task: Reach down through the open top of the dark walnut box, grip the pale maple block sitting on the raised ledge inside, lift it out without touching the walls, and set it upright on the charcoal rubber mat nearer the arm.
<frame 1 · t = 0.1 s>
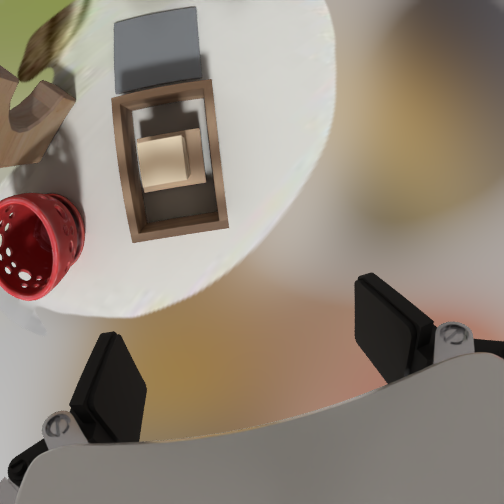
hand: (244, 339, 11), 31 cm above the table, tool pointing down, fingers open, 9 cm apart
decorative block: (47, 123, 32), on the table
maple block: (170, 160, 34), point 3 cm above the table, touching walnut box
walnut box: (173, 159, 37), on the table
mat: (155, 48, 31), on the table
plant pot: (57, 226, 37), on the table
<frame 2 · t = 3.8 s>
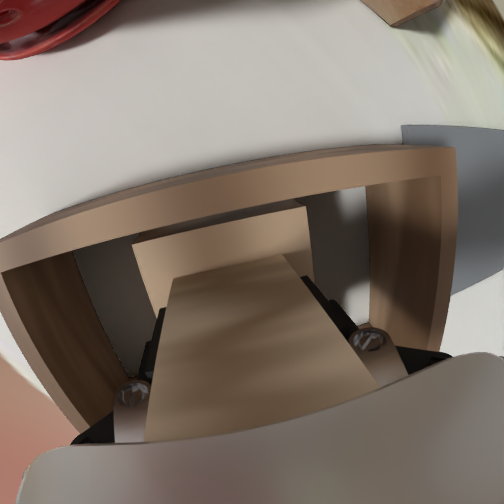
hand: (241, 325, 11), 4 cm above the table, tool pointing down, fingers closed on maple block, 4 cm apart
maple block: (238, 313, 12), point 3 cm above the table, touching gripper, walnut box
walnut box: (232, 284, 15), on the table
mat: (467, 211, 16), on the table
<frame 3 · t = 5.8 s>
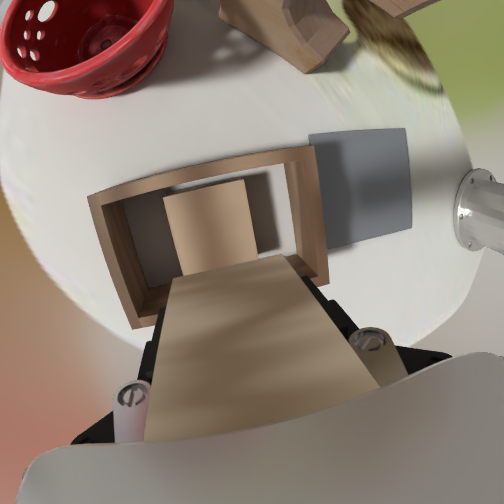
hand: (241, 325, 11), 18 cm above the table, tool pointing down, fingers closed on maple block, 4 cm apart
decorative block: (276, 29, 23), on the table
maple block: (238, 313, 12), point 17 cm above the table, touching gripper
walnut box: (211, 225, 28), on the table
mat: (366, 184, 29), on the table
plant pot: (116, 49, 21), on the table
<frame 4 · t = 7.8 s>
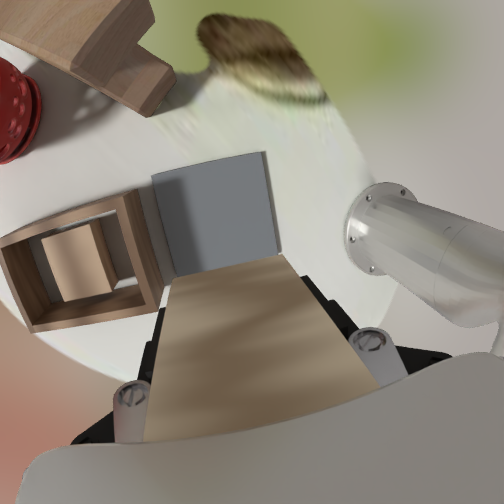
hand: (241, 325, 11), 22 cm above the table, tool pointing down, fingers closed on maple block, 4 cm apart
decorative block: (126, 78, 26), on the table
maple block: (238, 313, 12), point 21 cm above the table, touching gripper
walnut box: (84, 256, 31), on the table
mat: (216, 215, 32), on the table
plant pot: (15, 118, 24), on the table
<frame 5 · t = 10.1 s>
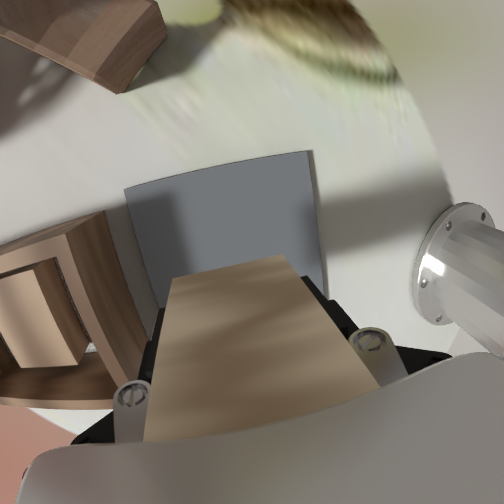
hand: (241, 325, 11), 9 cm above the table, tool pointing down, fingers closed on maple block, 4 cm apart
decorative block: (91, 38, 14), on the table
maple block: (238, 314, 12), point 8 cm above the table, touching gripper
walnut box: (40, 307, 19), on the table
mat: (232, 253, 20), on the table
when the fingers open (3 cm above the table, at t = 12.1 s): maple block drops 1 cm, resting on mat.
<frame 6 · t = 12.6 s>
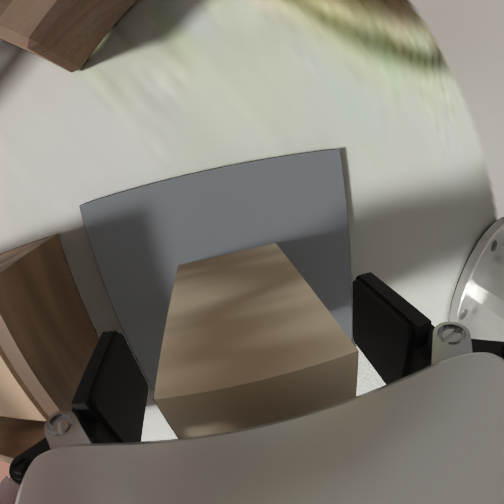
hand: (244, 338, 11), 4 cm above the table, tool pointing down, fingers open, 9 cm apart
decorative block: (49, 7, 8), on the table
maple block: (237, 297, 14), point 1 cm above the table, touching mat
walnut box: (0, 348, 13), on the table
mat: (233, 292, 14), on the table
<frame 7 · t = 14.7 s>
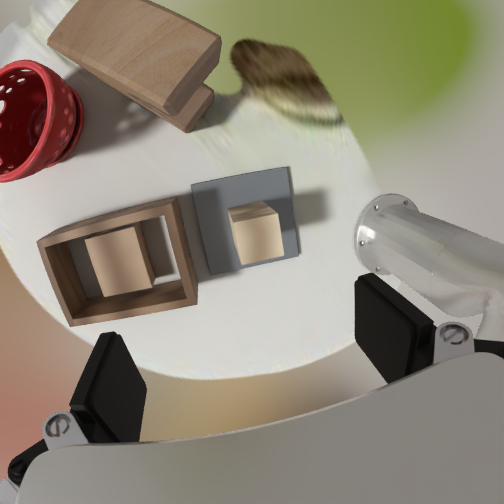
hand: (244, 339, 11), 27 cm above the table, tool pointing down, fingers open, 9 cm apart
decorative block: (166, 95, 31), on the table
maple block: (248, 222, 37), point 1 cm above the table, touching mat
walnut box: (123, 255, 36), on the table
mat: (246, 221, 37), on the table
plant pot: (54, 125, 29), on the table
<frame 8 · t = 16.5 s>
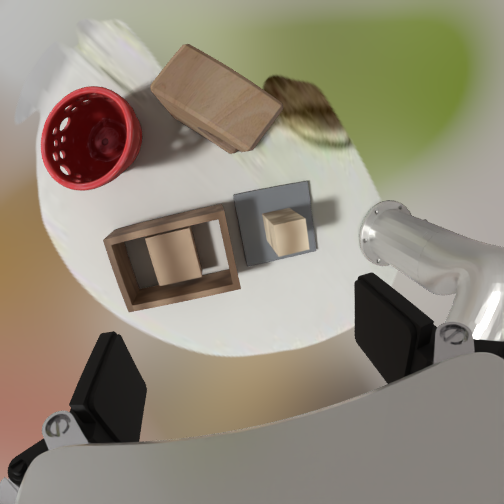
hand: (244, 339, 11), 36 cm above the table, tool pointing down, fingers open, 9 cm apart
decorative block: (212, 121, 41), on the table
maple block: (278, 224, 47), point 1 cm above the table, touching mat
walnut box: (175, 251, 46), on the table
mat: (276, 223, 47), on the table
plant pot: (112, 141, 39), on the table
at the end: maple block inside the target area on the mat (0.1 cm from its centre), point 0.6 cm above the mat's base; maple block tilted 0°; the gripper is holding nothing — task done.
